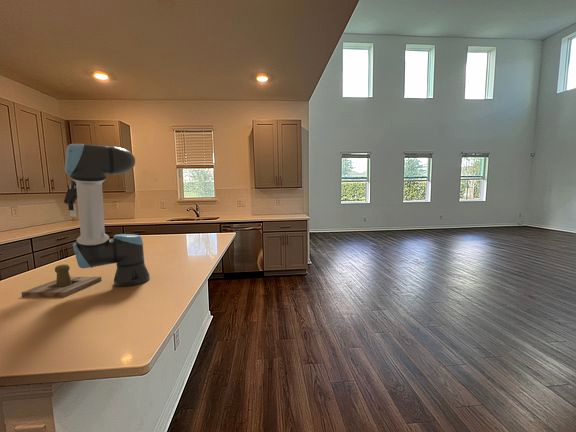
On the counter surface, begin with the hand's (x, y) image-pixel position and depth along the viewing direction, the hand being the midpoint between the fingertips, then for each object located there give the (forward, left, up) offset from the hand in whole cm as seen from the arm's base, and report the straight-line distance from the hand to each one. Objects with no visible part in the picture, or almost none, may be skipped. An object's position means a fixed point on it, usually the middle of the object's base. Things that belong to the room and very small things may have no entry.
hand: (84, 215), depth 144 cm
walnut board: (-8, +24, -32) cm, 41 cm away
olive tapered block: (-8, +24, -32) cm, 41 cm away
